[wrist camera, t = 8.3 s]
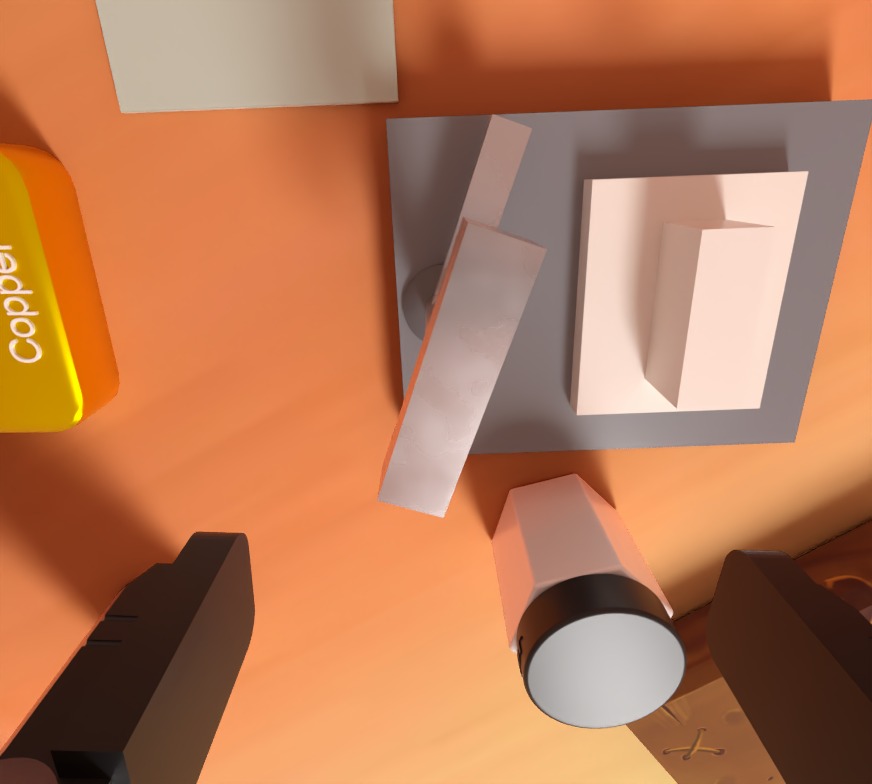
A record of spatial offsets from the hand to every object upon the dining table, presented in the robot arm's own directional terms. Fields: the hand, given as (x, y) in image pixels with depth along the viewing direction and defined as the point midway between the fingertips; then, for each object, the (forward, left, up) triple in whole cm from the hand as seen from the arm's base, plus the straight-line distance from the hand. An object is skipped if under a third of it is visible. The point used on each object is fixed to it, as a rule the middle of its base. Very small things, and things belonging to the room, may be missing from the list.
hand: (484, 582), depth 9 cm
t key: (+2, -1, -20) cm, 20 cm away
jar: (-17, -7, -24) cm, 30 cm away
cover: (0, -12, -21) cm, 24 cm away
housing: (0, -9, -24) cm, 26 cm away
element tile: (+1, +27, -25) cm, 37 cm away
